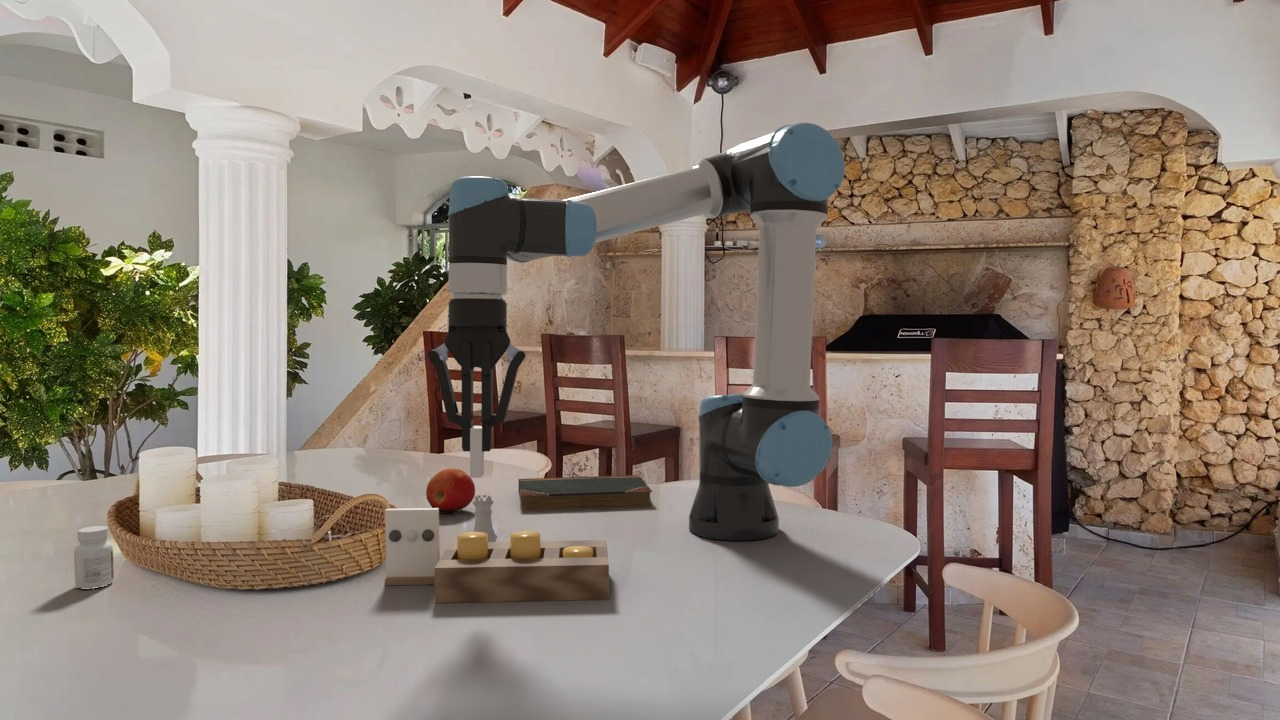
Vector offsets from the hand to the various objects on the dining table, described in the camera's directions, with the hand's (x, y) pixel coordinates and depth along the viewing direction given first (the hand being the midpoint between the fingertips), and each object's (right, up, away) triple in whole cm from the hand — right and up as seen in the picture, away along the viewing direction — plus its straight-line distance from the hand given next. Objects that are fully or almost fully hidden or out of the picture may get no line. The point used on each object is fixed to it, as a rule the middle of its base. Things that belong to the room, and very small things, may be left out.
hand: (476, 475), depth 113 cm
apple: (-13, -13, +44) cm, 48 cm away
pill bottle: (-52, -15, +2) cm, 54 cm away
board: (+6, -15, +1) cm, 16 cm away
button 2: (+13, -14, +2) cm, 20 cm away
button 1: (-1, -12, +1) cm, 12 cm away
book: (+10, -13, +56) cm, 58 cm away
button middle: (+6, -12, +1) cm, 14 cm away
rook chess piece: (-3, -14, +21) cm, 25 cm away
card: (-9, -15, +4) cm, 18 cm away
